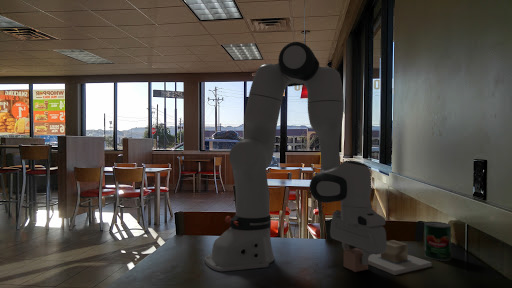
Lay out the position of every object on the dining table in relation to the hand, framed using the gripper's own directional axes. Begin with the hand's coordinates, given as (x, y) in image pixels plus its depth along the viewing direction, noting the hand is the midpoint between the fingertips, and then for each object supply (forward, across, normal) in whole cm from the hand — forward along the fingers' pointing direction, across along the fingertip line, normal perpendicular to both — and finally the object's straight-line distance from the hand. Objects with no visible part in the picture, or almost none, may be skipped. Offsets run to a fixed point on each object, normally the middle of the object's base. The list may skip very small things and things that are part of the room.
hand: (355, 260), depth 102 cm
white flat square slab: (+2, +2, +14) cm, 14 cm away
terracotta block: (+2, 0, 0) cm, 2 cm away
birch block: (+1, +2, +14) cm, 14 cm away
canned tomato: (+2, +4, +32) cm, 32 cm away
